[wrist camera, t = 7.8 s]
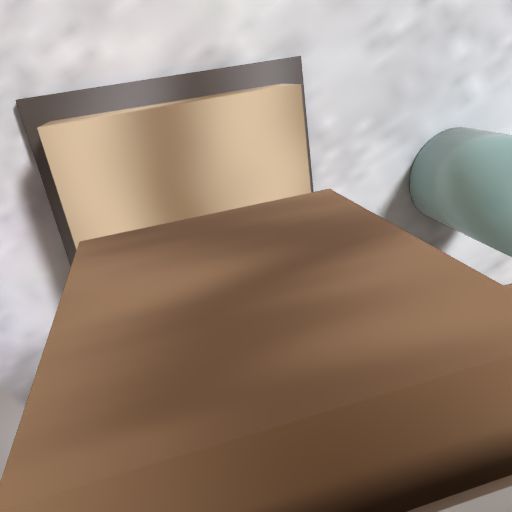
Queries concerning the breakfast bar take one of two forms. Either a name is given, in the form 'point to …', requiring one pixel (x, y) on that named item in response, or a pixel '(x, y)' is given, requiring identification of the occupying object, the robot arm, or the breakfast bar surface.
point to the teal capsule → (467, 184)
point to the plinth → (170, 147)
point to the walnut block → (267, 370)
